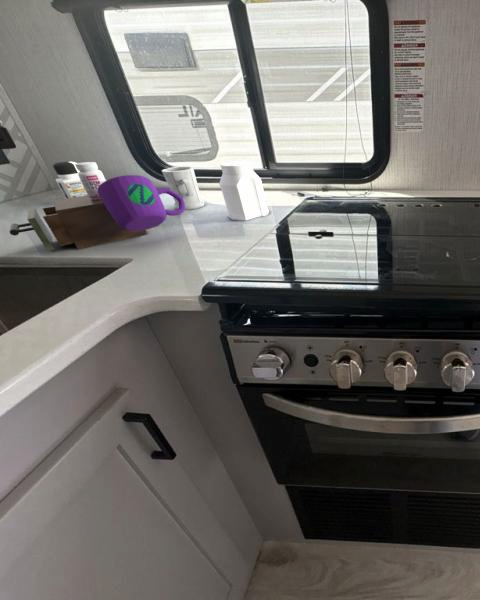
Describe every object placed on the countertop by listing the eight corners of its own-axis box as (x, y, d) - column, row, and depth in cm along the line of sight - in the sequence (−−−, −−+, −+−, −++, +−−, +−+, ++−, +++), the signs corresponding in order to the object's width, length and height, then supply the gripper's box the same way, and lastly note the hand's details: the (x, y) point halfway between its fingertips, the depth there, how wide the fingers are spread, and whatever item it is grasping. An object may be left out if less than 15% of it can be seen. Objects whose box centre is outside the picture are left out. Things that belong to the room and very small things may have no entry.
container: (74, 204, 116) (53, 165, 109) (66, 201, 120) (45, 163, 113) (100, 199, 121) (82, 161, 114) (92, 196, 125) (73, 159, 118)
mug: (124, 215, 74) (101, 174, 73) (112, 236, 81) (91, 199, 80) (200, 208, 88) (182, 173, 87) (185, 227, 95) (168, 195, 94)
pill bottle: (98, 200, 83) (80, 165, 78) (85, 199, 84) (67, 164, 80) (117, 196, 87) (101, 161, 82) (105, 194, 88) (88, 161, 83)
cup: (215, 203, 114) (203, 166, 108) (197, 211, 107) (183, 172, 100) (188, 202, 116) (175, 166, 109) (168, 210, 108) (153, 171, 102)
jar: (237, 222, 96) (222, 168, 88) (224, 215, 102) (208, 164, 94) (273, 213, 103) (262, 162, 95) (259, 207, 109) (247, 158, 101)
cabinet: (77, 249, 81) (55, 210, 76) (74, 236, 89) (53, 200, 84) (147, 233, 90) (131, 198, 85) (138, 223, 97) (123, 189, 92)
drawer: (23, 256, 76) (0, 223, 72) (24, 243, 83) (3, 212, 79) (116, 236, 86) (102, 206, 82) (110, 225, 93) (96, 197, 89)
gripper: (-78, 44, 65) (-17, 146, 74) (-95, 36, 55) (-22, 154, 65) (-22, 47, 69) (30, 144, 79) (-29, 40, 60) (30, 150, 70)
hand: (6, 148), depth 72 cm, fingers closed
